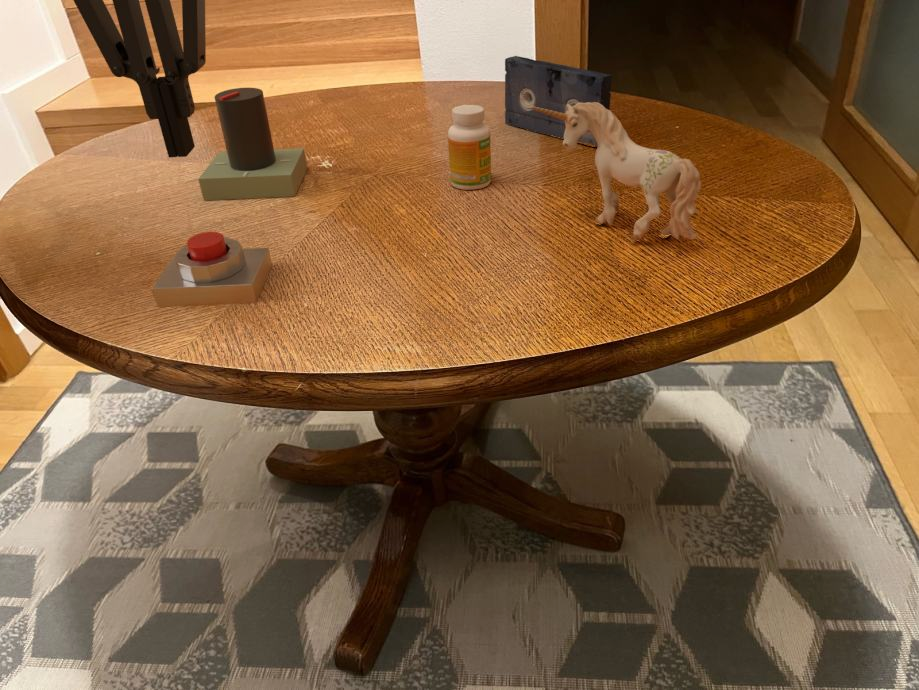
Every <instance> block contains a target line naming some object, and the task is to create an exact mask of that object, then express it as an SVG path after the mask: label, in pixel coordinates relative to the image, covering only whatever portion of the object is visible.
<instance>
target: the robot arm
mask: <svg viewBox="0 0 919 690" xmlns="http://www.w3.org/2000/svg"><path fill="white" fill-rule="evenodd" d="M73 2H74V4H75V6H76V8H77V10H78V12H79V13H80V16H81V17H82V19H83V21H84V23H85V25H86V27H87V29H88V30H89V32H90V34H91V36H92V38H93V40H94V42H95V44H96V46H97V48H98V49H99V51H100V54H101V55H102V57H103V59H104V61H105V62H106V64H107V66H108V68H109V70H110V72H111V73H112V75H113V76H115V77H116V78H126V79H129V80H133V82H135V83H136V84H137V86H138V88H139V93H140V97H141V98H142V99H141V100H142V102H143V106H144V109H145V114H146V115H147V117H148V118H149V119H150V120H158V124H159V128H160V131H161V135H162V139H163V142H164V145H165V149H166V153H167V156H168V158H186V157H188V155H189V154H190V153H191V152H192V151H193V150H194V149H195V147H196V146H195V141H194V137H193V134H192V133H193V132H192V130H191V126H190V125H191V124H190V122H189V118H190V117H192V116H193V115H194V113H195V109H196V105H195V102H194V97H193V94H192V89H191V85H190V81H189V77H190V75H194V74H196V73H197V72H198V71H200V70H201V69H202V68H203V67H204V66H205V65H206V62H207V61H206V59H207V56H206V55H207V54H206V52H207V50H206V49H207V46H206V44H207V43H206V42H207V41H206V0H181V9H182V10H181V14H182V19H181V20H182V42H181V37H180V34H179V29H178V25H177V23H176V18H175V15H174V11H173V8H172V3H171V0H144V4H145V7H146V11H147V15H148V18H149V21H150V25H151V30H152V32H153V36H154V40H155V43H156V47H157V51H158V55H159V58H160V62H161V67H162V69H163V73H164V76H158V77H157V75H159V73H160V71H161V68H160V67H157V65H156V61H155V57H154V53H153V50H152V46H151V42H150V38H149V34H148V30H147V26H146V22H145V19H144V13H143V10H142V6H141V3H140V0H112V4H113V7H114V10H115V15H116V18H117V22H118V25H119V29H120V31H119V29H118V27H117V25H116V23H115V21H114V19H113V17H112V15H111V12H110V11H109V10H108V7H107V6H106V3H105V2H104V0H73ZM120 32H121V33H120Z"/></svg>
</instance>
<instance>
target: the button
mask: <svg viewBox="0 0 919 690" xmlns="http://www.w3.org/2000/svg"><path fill="white" fill-rule="evenodd" d="M224 237H225V236H224V235H223V234H222V233H221V232H217V231H205V232H200V233H197V234H194V235H192V236H190V237H189V238H188V239H187V241H186V245H187V246H188V250H189V253H190V257H191V259H192V260H193V261H210V260H214V259H218V258H220V257H222V256H224V255H225V254H227V248H226V244H225V240H224Z"/></svg>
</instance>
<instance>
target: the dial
mask: <svg viewBox="0 0 919 690" xmlns="http://www.w3.org/2000/svg"><path fill="white" fill-rule="evenodd" d="M264 95H265V94H264V92H263V90H262V88H261V89H260V88H258V87H236V88H231V89H226V90H222V91H220V92H218V93H216V94H215V95H214V101H215V106H216V110H217V115H218V119H219V122H220V128H221V132H222V136H223V141H224V145H225V150H226V152H227V154H228V158H229V163H230V166H231V168H233V169H236V170H243V171H248V170H257V169H262V168H265V167H268V166H270V165H272V164H273V163H274V162H275V161H276V158H275V153H274V150H275V148H274V143H273V138H272V133H271V127H270V122H269V117H268V112H267V106H266V101H265V97H264Z"/></svg>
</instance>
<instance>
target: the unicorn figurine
mask: <svg viewBox="0 0 919 690" xmlns="http://www.w3.org/2000/svg"><path fill="white" fill-rule="evenodd" d="M567 107H568V110H569V111H567V112H566V113H565V114H564V113H559V112H556V111H552V110H548V109H543V108H539V107H535V106H532V107H531V108H532V109H533V110H536V111H538V112H541V113H544V114H547V115H549V116H553V117H555V118H558V119H560V120H563V121H565V125H566V129H565V132H564V140H562V146H563V147H564V148H565V149H566V150H567V151H568V152H569V151H573V150H574V149H576V148H578V144H577V141H578V140H579V138H580V137H581V135H583V134H585V133H586V132H587V131H588V130H589V131H590V132H591V133H592V134H593V136H594V137H595V139H596V141H597V145H598V147H597V148H596V150H595V153H594V164H595V166H596V171H597V173H598V180H599V182H600V186H601V195H602V200H603V211H602V213H601V214H599V215H597V217H596V219H595V220H594V223H595V222H596V223H600V224H603V223H604V224H605V223H606V222H607V224H608V225H609V226H610V225H612V226H613V225H614V219H615V217H616V215H617V214H616V211H618V210H620V198H619V196H618V195H617V194H616V192H614V191H612V181H613V180H616V181H617V182H619V183H621V184H623V185H625V186H627V187H635V188H639V187H641V190H642V192H643V193H644V199H645V201H646V204H647V207H648V210H647V212H646V213H645V214H644V215H643V216H642V217H640V218H639V219H637V220H636V221H635V223H634V225H633V231H632V232H633V235H632V236H633V237H632V241H633V240H635V242H638V241H637V240H639V239H640V238H642V239H644V238H645V237H646V235H645V234H646V233H647V232H648V231H649V230H650V228H651V221H652V220H654V219H656V218H658V217H660V216H661V215H662V211H661V207H660V196H661V194H662V193H664V195H665V197H666V199H667V201H668V202H669V206H670V207H669V214H670V219H669V222H668V225H667V226H666V227H663V228H662V229H661V230H660V232H661V233H662V234H664V235H669V234H672V236H671V237H672V238H674V237H675V239H676V240H679V239H680V236H682V237H683V238H685V239H688V240H692V241H693V240H696V239H697V234H696V233H695V232H694V228H693V226H692V224H691V217H692V215H694V214H695V213H697V207H696V205H695V201H696V200H697V198H698V196H699V193H700V192H699V191H700V190H701V188H702V181H701V180H700V178H701V175H700V172H699V170H698V168H697V167H696V166H695V165H694V163H693V162H692V161H691V159H689V158H681V157H680V156H678V155H677V154H675V153H674V152H672V151H669V150H665V149H657V148H655V149H654V148H648V147H646V146H645V147H644V146H643V145H639V144H637V143H635V142H634V141H633V140H632V139H631V138H630V137H629V135H628V132H627V130H626V129H625V128H624V126H623V123H622V122H621V121H620V120H619V118H618V117H617V116H616V115H615V114H614V113H613V112H612V110H611V109H610V110H608V109H606V108H605V107H604V106H603V105H601V104H600V103H597V102H593V103H590V102H587V103H577V104H576V105H575V106H570V105H569V104H567ZM618 212H619V211H618ZM615 214H616V215H615ZM596 223H595V224H596ZM604 224H603V225H604ZM639 241H640V240H639Z"/></svg>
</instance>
